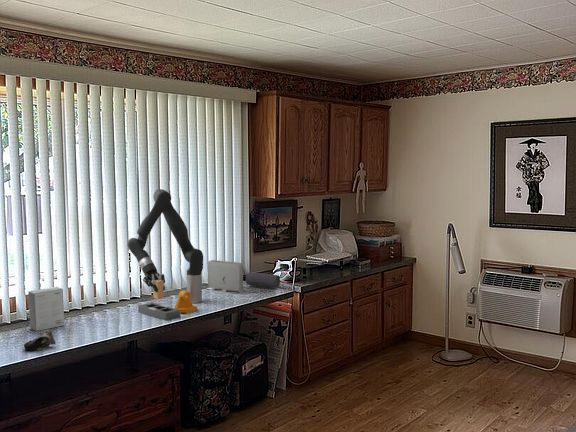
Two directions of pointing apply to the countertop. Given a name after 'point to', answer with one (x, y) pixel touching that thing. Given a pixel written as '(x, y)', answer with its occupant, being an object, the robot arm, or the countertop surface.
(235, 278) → the network device
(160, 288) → the peg
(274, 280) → the bluetooth speaker
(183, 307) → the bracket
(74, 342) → the countertop surface
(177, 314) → the rail
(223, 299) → the countertop surface
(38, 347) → the caster wheel
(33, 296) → the hard drive box
